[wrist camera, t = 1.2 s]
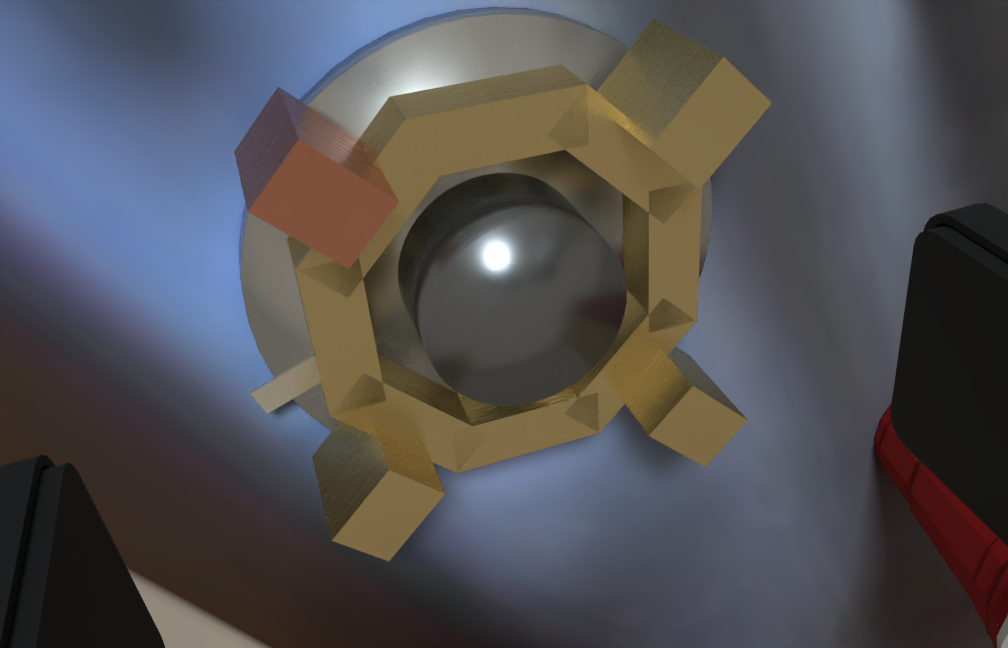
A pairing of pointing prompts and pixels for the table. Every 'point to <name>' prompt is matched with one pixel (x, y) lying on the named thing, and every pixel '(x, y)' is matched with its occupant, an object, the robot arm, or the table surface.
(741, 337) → the table surface
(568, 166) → the flange
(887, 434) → the plastic cup
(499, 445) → the locking ring
